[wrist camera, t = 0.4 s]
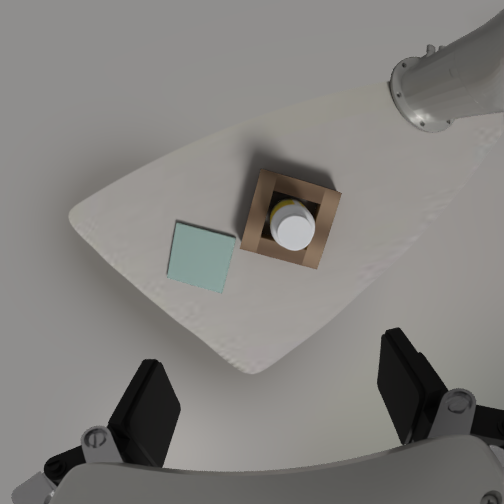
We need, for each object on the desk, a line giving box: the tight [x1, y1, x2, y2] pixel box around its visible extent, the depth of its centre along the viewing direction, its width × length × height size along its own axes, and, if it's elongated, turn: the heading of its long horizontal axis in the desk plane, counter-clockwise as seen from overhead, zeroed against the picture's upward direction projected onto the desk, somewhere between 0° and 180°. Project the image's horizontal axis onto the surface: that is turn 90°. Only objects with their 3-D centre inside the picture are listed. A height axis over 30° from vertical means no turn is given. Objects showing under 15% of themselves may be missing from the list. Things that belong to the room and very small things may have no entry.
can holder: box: [240, 169, 342, 269], centre depth 39 cm, size 11×11×3 cm
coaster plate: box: [167, 222, 236, 293], centre depth 43 cm, size 9×9×1 cm
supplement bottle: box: [270, 198, 315, 251], centre depth 36 cm, size 5×5×10 cm
